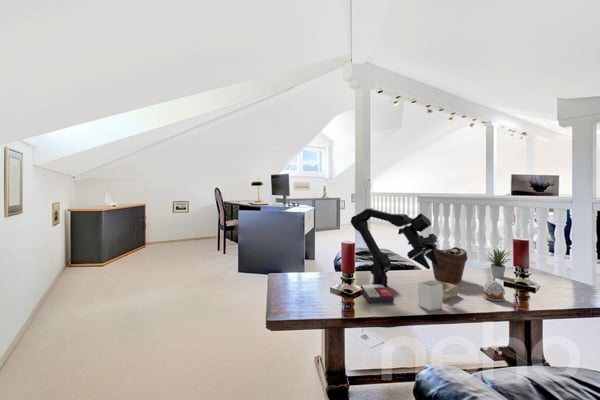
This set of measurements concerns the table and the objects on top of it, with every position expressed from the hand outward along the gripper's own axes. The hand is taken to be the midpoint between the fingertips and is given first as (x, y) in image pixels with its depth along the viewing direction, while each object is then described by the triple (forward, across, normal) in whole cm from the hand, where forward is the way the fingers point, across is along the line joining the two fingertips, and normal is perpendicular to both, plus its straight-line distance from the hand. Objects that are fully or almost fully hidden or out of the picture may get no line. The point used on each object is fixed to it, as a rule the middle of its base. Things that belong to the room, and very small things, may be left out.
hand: (433, 266), depth 136 cm
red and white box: (0, -17, +24) cm, 29 cm away
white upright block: (+13, -11, +6) cm, 18 cm away
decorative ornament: (+23, +18, -6) cm, 30 cm away
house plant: (+19, +59, -1) cm, 62 cm away
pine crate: (+11, +6, +9) cm, 15 cm away
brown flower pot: (+8, +33, +14) cm, 37 cm away
